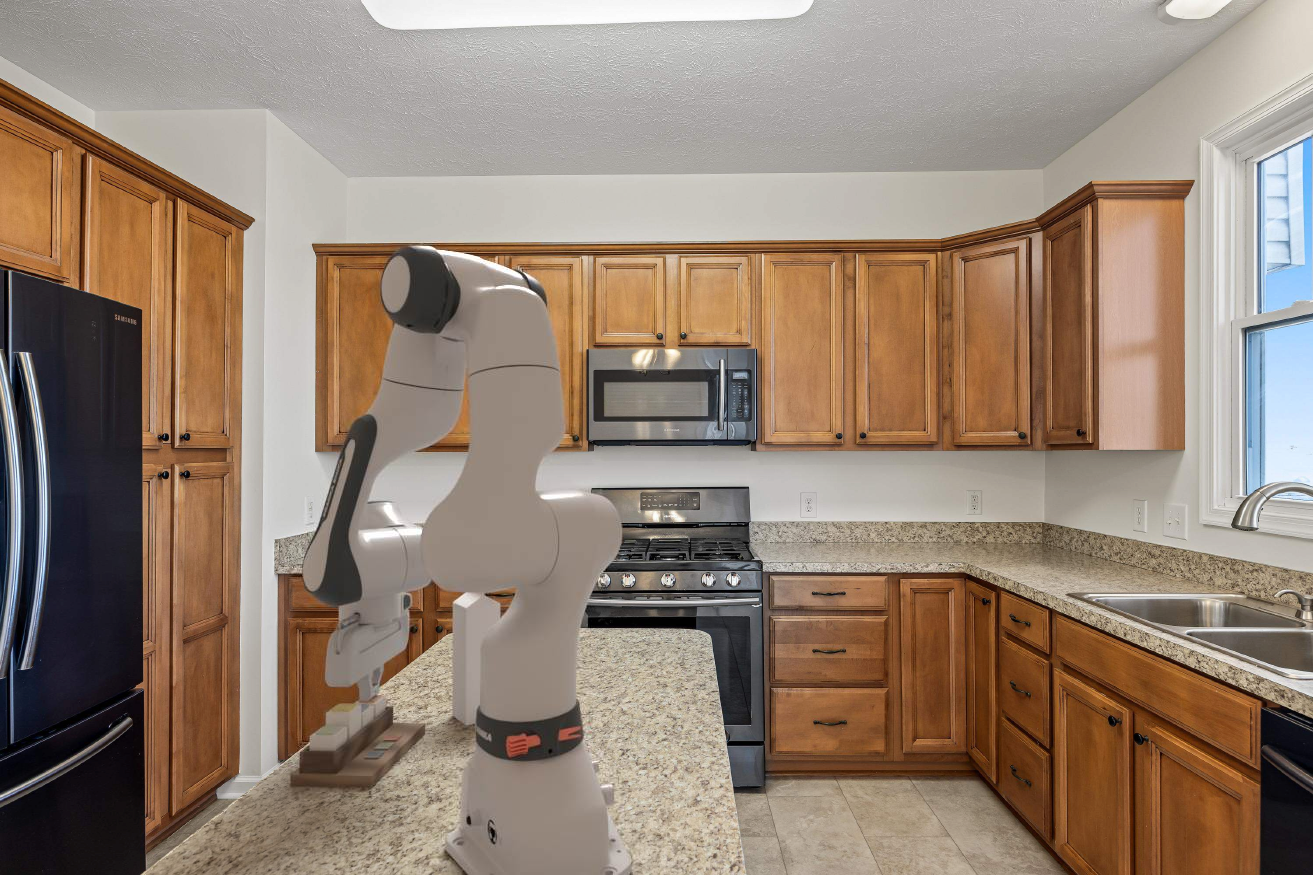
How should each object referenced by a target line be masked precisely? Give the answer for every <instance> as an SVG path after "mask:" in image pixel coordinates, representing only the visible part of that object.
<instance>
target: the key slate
mask: <svg viewBox="0 0 1313 875" xmlns="http://www.w3.org/2000/svg"><path fill="white" fill-rule="evenodd" d="M373 720H374V706H369V705H361V730H362V729H363V728H364V727H366V726H367V725H368V724H369V723H371V722H372V721H373Z"/></svg>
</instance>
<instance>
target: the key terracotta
mask: <svg viewBox="0 0 1313 875" xmlns="http://www.w3.org/2000/svg"><path fill="white" fill-rule="evenodd" d="M386 698H387V697H386V695H383V696H382V695H381V694H377V695H376V696H374V697H373V698H372V699H370V700H369V701H362V700H360V698H359V699H358V700H357V701H355V702H354V703H353V704H359V705H369V706H374V719H375V718H377V717H378V716H379V715H380V714H382V713H383V712H384V711H385V710H386V706H387V705H386V703H387V701H386V700H387V699H386Z"/></svg>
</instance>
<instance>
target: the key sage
mask: <svg viewBox="0 0 1313 875" xmlns="http://www.w3.org/2000/svg"><path fill="white" fill-rule="evenodd" d="M346 742H347V727H342V726H326V725H324V726H322V727H320V728H318V730H316V731H315V732H313V733H312V734H311V735H309V743H308V744H309V745H308V746H309V751H337V750H338V749H339V748H340V747H341V746H343V745H344V744H345V743H346Z"/></svg>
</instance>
